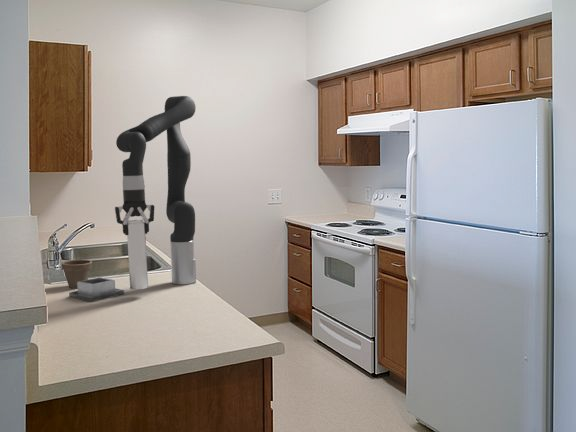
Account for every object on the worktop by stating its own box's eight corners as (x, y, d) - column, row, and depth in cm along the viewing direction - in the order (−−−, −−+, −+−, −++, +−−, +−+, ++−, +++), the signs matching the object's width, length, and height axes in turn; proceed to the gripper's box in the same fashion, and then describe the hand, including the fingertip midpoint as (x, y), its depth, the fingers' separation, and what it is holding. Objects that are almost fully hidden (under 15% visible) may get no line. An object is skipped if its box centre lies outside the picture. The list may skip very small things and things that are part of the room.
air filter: (143, 289, 193) (139, 220, 191) (126, 289, 195) (122, 220, 192) (151, 285, 200) (147, 218, 197) (135, 285, 201) (131, 218, 198)
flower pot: (99, 284, 220) (98, 259, 219) (80, 290, 209) (79, 265, 208) (75, 282, 224) (74, 258, 223) (56, 289, 213) (55, 263, 212)
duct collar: (102, 289, 211) (101, 275, 210) (124, 294, 203) (123, 279, 202) (69, 296, 200) (68, 282, 199) (90, 302, 191) (90, 286, 191)
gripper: (152, 187, 200) (154, 231, 201) (111, 188, 194) (114, 234, 196) (155, 187, 193) (157, 234, 194) (113, 189, 187) (116, 237, 189)
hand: (136, 234), depth 195 cm, fingers closed on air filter, 6 cm apart
